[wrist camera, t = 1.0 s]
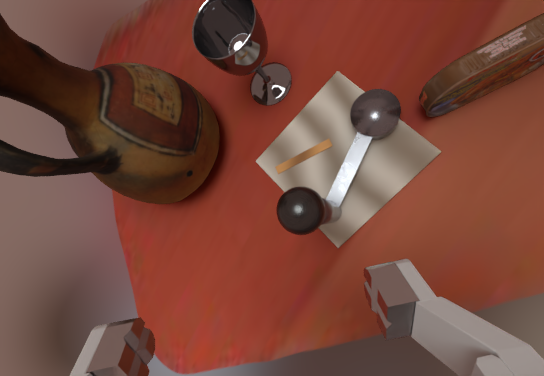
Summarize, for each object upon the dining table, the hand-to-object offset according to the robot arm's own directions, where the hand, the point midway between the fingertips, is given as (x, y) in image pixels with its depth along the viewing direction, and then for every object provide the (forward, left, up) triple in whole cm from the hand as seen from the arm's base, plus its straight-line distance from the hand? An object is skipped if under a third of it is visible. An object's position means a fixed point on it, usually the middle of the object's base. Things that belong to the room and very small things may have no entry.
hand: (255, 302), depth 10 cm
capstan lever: (-10, -1, -29) cm, 31 cm away
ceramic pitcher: (-8, -30, -30) cm, 44 cm away
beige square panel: (-11, -3, -30) cm, 32 cm away
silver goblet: (-21, -16, -30) cm, 40 cm away
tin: (-23, +12, -30) cm, 40 cm away
